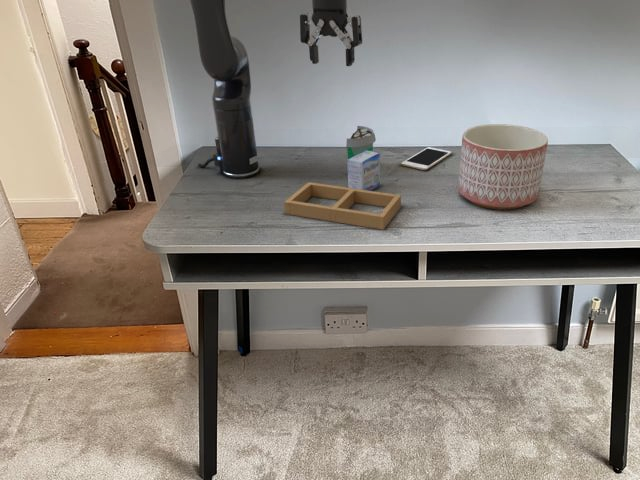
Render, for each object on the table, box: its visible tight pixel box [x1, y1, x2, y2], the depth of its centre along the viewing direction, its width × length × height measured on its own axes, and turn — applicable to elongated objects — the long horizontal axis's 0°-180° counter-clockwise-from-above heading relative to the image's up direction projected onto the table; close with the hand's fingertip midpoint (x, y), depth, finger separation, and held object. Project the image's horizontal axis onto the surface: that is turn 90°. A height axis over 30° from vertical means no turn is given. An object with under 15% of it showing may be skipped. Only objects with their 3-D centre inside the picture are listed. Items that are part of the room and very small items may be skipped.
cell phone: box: [401, 146, 452, 171], centre depth 155 cm, size 8×16×1 cm, turn 148°
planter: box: [458, 123, 549, 210], centre depth 130 cm, size 19×19×15 cm
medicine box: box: [346, 151, 381, 191], centre depth 135 cm, size 8×4×9 cm, turn 148°
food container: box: [345, 125, 376, 160], centre depth 146 cm, size 12×6×10 cm, turn 168°
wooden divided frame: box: [284, 181, 402, 230], centre depth 126 cm, size 24×12×3 cm, turn 71°
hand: (332, 64), depth 128 cm, fingers open, 8 cm apart
